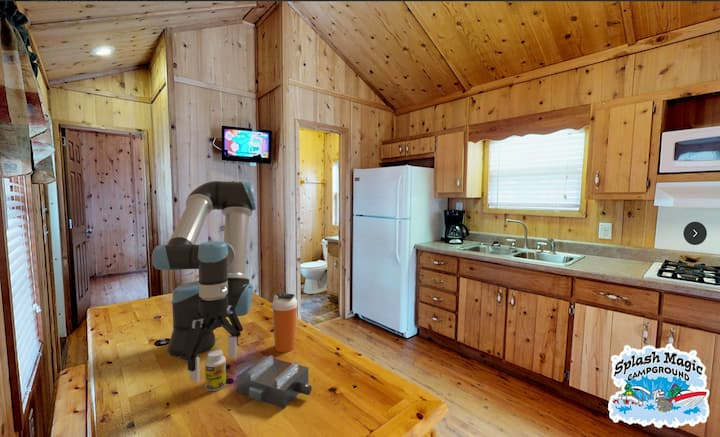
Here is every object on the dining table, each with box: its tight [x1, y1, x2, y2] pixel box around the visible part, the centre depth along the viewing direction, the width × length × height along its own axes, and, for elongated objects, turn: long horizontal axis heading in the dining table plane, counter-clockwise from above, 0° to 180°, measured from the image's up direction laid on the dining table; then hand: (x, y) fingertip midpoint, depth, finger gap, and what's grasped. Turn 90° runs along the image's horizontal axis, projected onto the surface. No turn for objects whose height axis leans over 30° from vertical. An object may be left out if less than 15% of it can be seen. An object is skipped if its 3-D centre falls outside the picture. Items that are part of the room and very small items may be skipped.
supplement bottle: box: [204, 349, 227, 392], centre depth 92 cm, size 6×6×10 cm
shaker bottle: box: [271, 291, 298, 353], centre depth 115 cm, size 9×9×20 cm
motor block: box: [236, 354, 313, 409], centre depth 90 cm, size 20×14×6 cm
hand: (215, 368), depth 91 cm, fingers open, 13 cm apart
